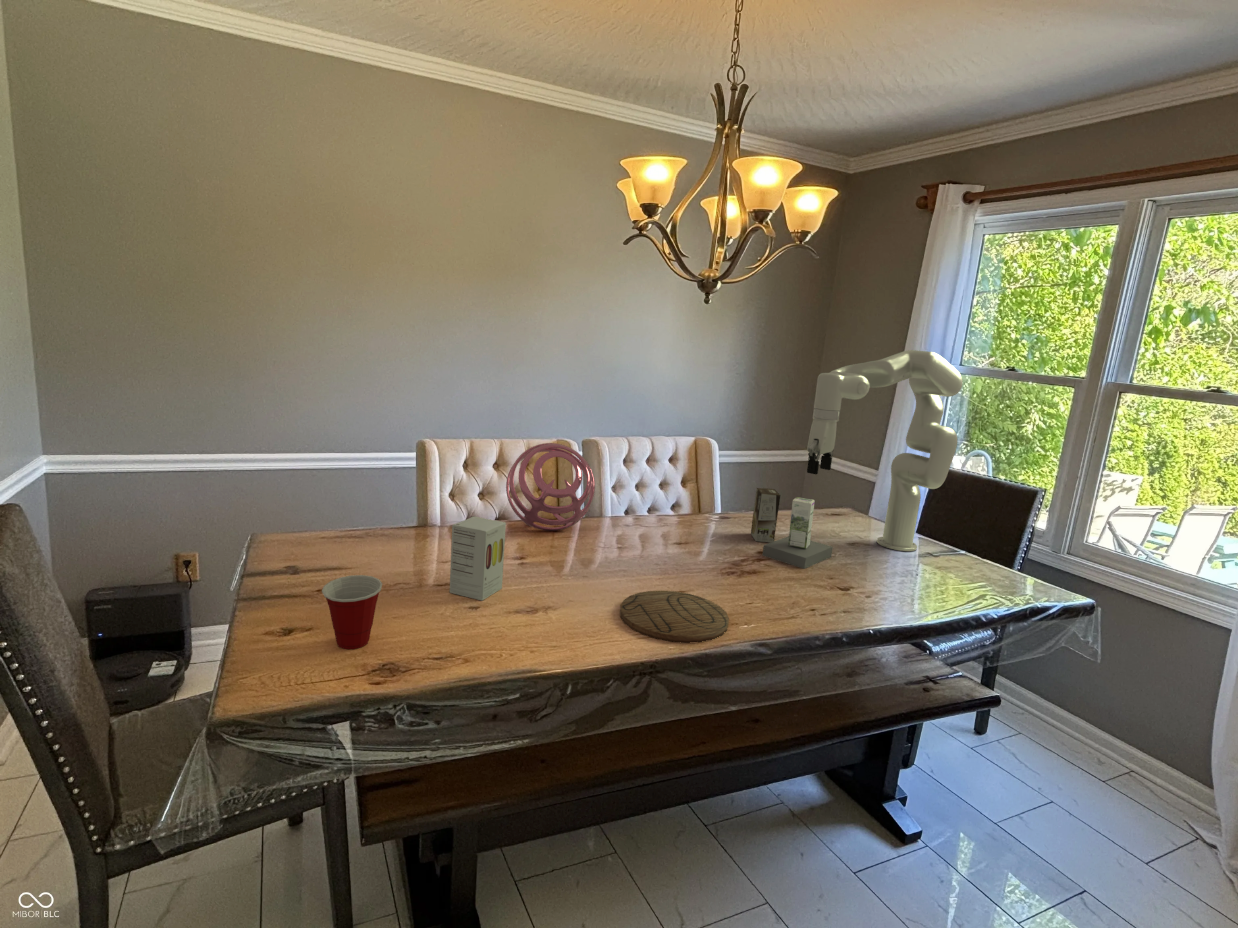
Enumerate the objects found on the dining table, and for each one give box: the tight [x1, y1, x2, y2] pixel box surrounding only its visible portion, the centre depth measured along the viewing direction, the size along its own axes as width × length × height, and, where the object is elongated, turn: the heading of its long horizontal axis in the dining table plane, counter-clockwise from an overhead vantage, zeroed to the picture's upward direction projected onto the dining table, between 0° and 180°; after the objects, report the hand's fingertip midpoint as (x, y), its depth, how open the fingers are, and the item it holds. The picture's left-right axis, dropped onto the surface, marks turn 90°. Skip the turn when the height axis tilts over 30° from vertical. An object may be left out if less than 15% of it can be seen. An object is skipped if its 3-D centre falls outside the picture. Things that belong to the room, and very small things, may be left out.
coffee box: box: [750, 487, 781, 543], centre depth 224 cm, size 9×6×16 cm
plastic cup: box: [321, 574, 383, 650], centre depth 131 cm, size 11×11×12 cm
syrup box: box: [788, 496, 816, 549], centre depth 208 cm, size 6×6×14 cm
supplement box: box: [449, 516, 507, 601], centre depth 161 cm, size 10×9×17 cm
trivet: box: [619, 590, 730, 644], centre depth 157 cm, size 25×25×2 cm
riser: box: [762, 535, 834, 570], centre depth 209 cm, size 18×14×4 cm
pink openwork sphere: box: [505, 442, 596, 532], centre depth 217 cm, size 28×28×27 cm
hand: (818, 471), depth 205 cm, fingers open, 9 cm apart
